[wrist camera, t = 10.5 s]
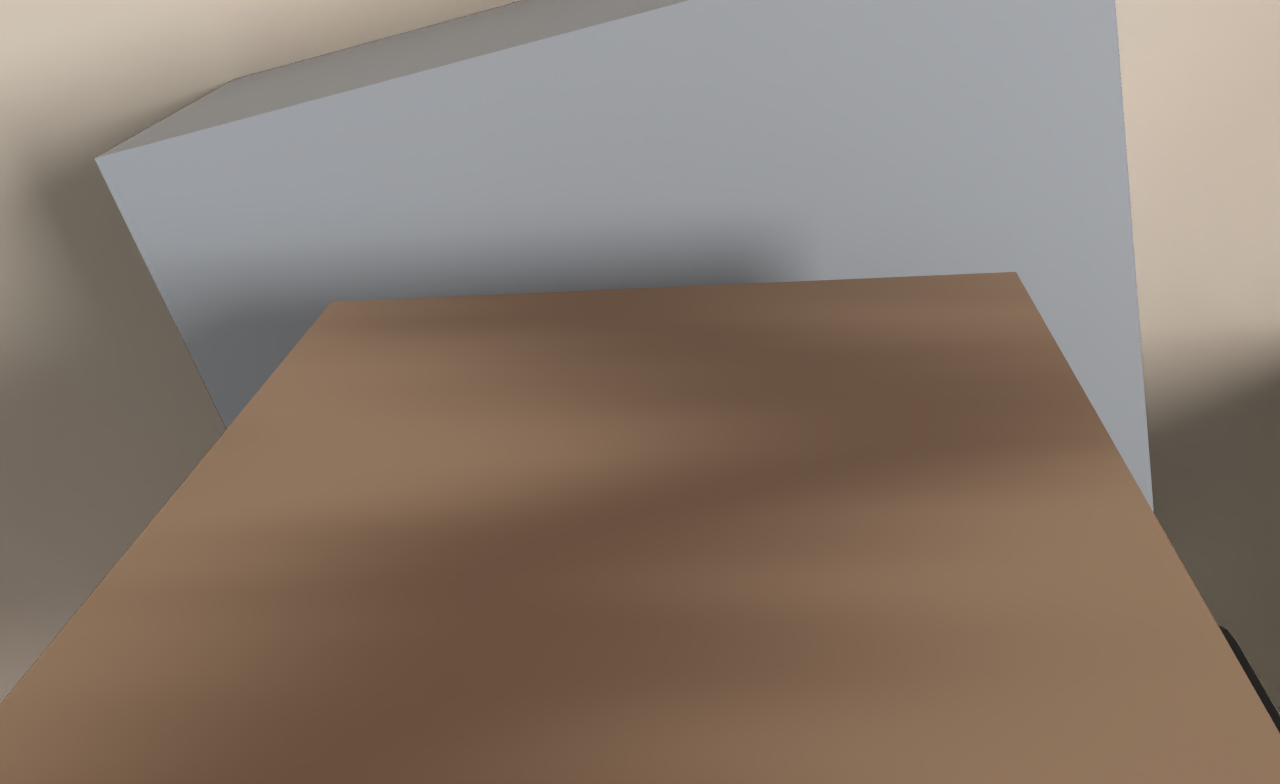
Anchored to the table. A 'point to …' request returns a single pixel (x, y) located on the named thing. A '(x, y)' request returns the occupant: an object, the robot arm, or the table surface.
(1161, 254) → the table surface
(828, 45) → the slate base block
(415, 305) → the walnut cube
